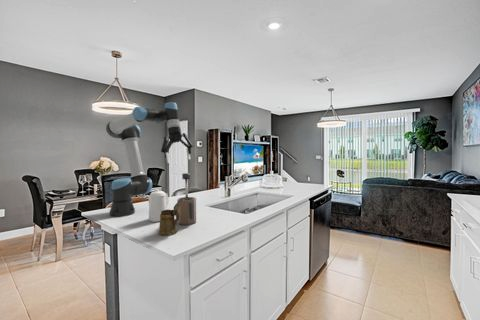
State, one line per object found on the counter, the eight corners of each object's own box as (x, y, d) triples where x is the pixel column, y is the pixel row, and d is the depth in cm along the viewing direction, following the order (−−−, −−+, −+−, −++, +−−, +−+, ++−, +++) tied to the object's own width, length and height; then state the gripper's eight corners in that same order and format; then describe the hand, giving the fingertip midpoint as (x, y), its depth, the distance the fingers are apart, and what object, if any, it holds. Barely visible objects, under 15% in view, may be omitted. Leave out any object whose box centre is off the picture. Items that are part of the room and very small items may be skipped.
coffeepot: (136, 225, 130) (135, 192, 129) (160, 213, 155) (159, 185, 154) (154, 227, 128) (153, 193, 127) (175, 214, 152) (175, 186, 152)
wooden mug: (178, 237, 112) (177, 200, 111) (154, 235, 116) (153, 199, 115) (187, 231, 120) (187, 196, 119) (165, 229, 124) (164, 195, 123)
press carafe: (175, 222, 136) (174, 198, 135) (191, 219, 142) (190, 196, 141) (184, 227, 126) (184, 201, 126) (201, 223, 133) (200, 199, 132)
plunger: (179, 205, 135) (179, 173, 134) (189, 203, 139) (188, 172, 138) (184, 207, 130) (183, 174, 130) (194, 205, 134) (193, 173, 133)
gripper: (152, 130, 143) (157, 164, 142) (190, 122, 139) (196, 157, 138) (158, 132, 150) (163, 164, 149) (195, 124, 146) (200, 158, 145)
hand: (178, 161), depth 143 cm, fingers open, 13 cm apart
